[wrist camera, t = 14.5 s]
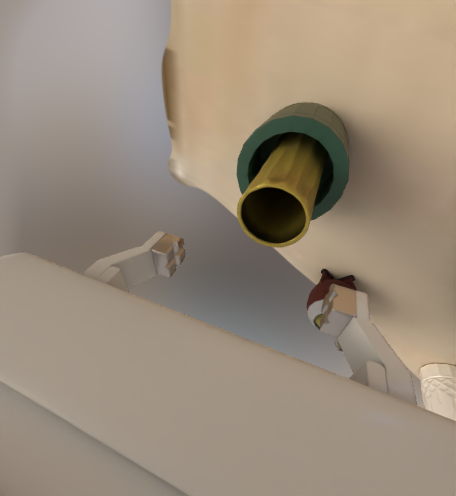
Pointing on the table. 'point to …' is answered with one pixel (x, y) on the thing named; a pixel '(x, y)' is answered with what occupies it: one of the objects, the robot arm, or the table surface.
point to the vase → (283, 191)
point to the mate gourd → (319, 294)
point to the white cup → (439, 389)
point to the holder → (316, 126)
